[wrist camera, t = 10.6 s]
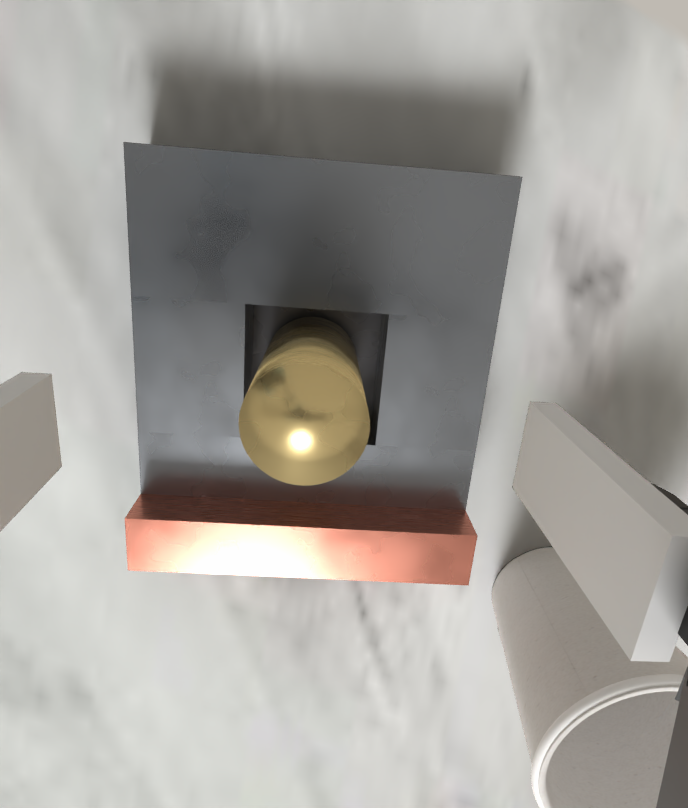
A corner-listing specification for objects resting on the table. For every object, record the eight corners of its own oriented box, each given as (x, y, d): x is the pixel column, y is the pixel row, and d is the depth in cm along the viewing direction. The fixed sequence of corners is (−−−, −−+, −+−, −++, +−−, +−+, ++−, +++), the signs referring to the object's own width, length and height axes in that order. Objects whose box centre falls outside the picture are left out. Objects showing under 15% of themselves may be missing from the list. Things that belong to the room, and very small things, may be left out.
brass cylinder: (266, 402, 25) (238, 483, 17) (266, 314, 24) (237, 359, 16) (354, 406, 25) (365, 487, 17) (359, 318, 24) (374, 366, 16)
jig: (149, 151, 22) (100, 134, 17) (497, 181, 22) (543, 173, 18) (162, 507, 27) (127, 570, 22) (443, 521, 28) (468, 585, 23)
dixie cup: (519, 677, 31) (603, 879, 22) (435, 583, 29) (490, 763, 20) (649, 600, 30) (800, 781, 20) (572, 494, 27) (702, 642, 18)
